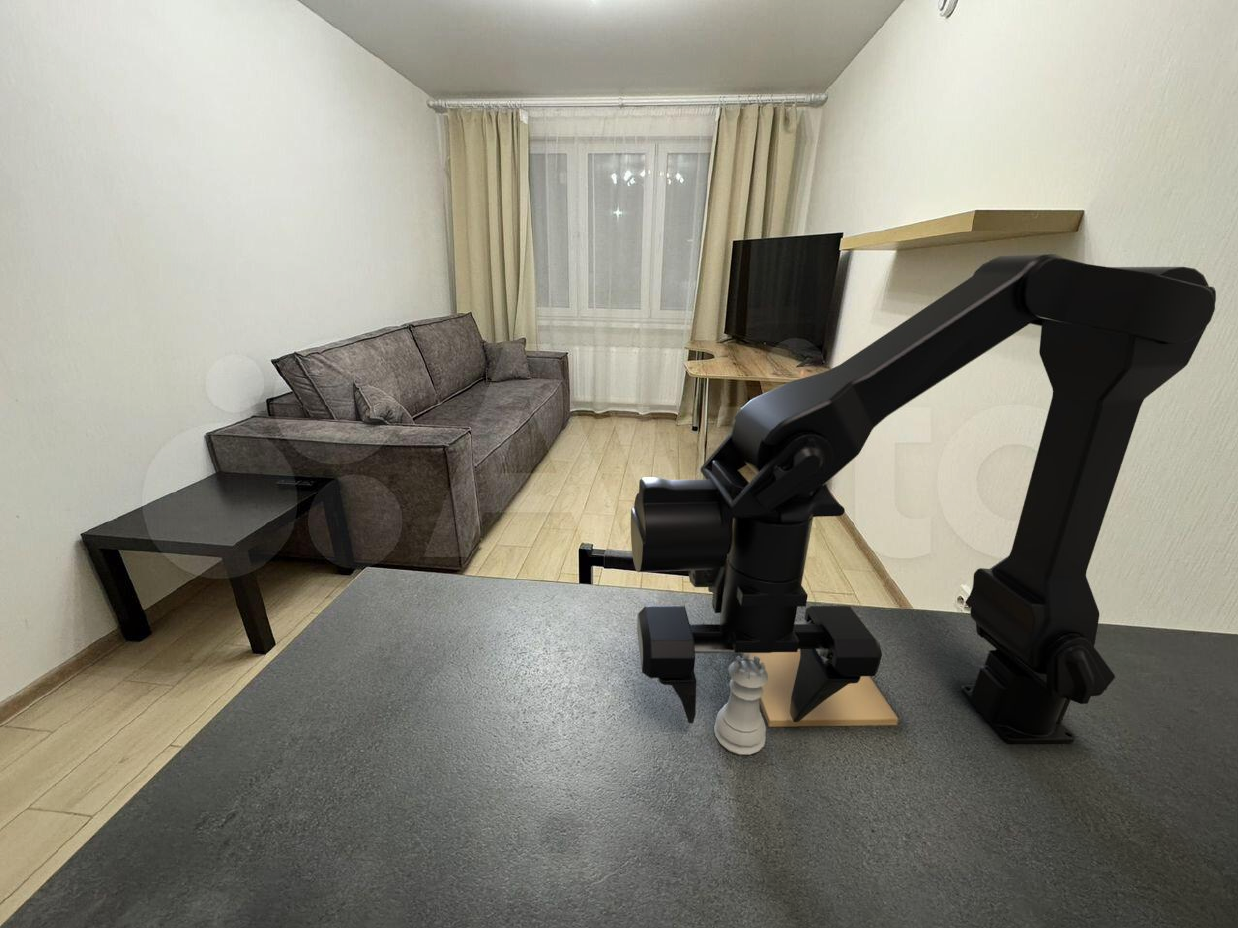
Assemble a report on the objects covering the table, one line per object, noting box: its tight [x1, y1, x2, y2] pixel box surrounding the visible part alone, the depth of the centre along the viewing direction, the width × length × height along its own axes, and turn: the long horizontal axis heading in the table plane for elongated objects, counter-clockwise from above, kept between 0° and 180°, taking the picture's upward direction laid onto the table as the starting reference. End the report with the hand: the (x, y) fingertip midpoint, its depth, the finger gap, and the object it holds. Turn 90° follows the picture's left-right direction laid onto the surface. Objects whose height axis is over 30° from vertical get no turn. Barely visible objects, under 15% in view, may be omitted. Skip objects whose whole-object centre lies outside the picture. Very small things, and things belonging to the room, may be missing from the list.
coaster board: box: [740, 649, 899, 728], centre depth 52 cm, size 12×10×1 cm
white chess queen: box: [713, 654, 768, 756], centre depth 45 cm, size 4×4×8 cm
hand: (742, 718), depth 45 cm, fingers open, 9 cm apart
